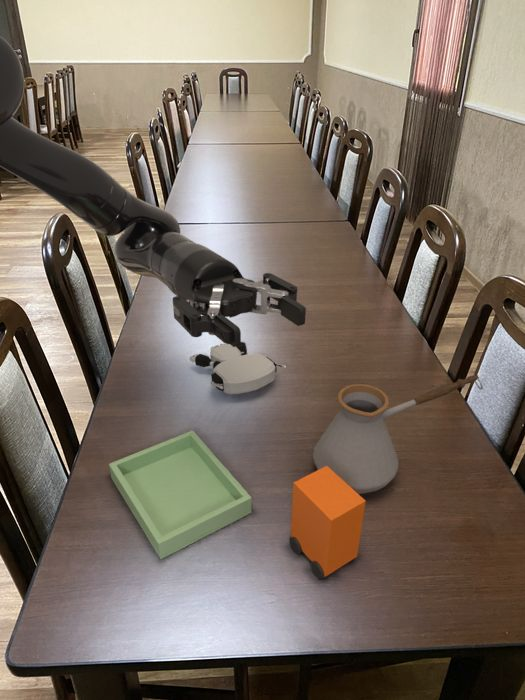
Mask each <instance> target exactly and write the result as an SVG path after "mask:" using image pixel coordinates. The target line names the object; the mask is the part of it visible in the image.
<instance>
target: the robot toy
mask: <svg viewBox="0 0 525 700" xmlns="http://www.w3.org/2000/svg"><path fill="white" fill-rule="evenodd" d="M247 353H248V349H247V344H246V342H245V341H241V344H240V345H239V346H236V347H233V346H231V345H230V344H226V343H220V345H219V344H217V345H212V346H211V347H210V351H209V354H210V356H209V355H206V354H202V353H199V354H193V355H191V356H189V358H188V359H189V361H190V362H192V363H195V366H197V367H200V368H207V367H212V368H213V370H212V373H211V375H210V376H211V377H210V378H211V381H210V384H211V386H212V387H214V388H216V389H217V390H219V391H220V392H223V393H225V394H226V395H240V394H246V393H247V394H248V393H251V392H254V391H255V392H256V391H258V390H259V389H260V390H261V389H262V388H263V387H266V386H267V385H269V384H270V383H272V382H273V381H274V380H275V379H276V373H277V372H278V371H277V367H280V368H283V369H287V366H286V365H283V364H280V363H277V362H276V361H273V360H272V359H270V358H269V356H265V355H264V354H261V353H249V354H247Z"/></svg>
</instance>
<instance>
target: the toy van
mask: <svg viewBox="0 0 525 700" xmlns="http://www.w3.org/2000/svg"><path fill="white" fill-rule="evenodd" d="M291 503H292V504H291V520H290V521H291V523H290V538H289V544H290V546H291V549H292V550H293V552H294V553H295V554H297V555H299V554H301V553H304V555H305V556H306V557H307V558H308V559H309V561H311V563H310V568H311V571H312V573H313V574H314V576H315V577H316V578H317V579H318V580H322V579H323V578H325V577H328V576H329V575H330V574H332V573H334V572H335V571H337V570H338V569H340V568H341V567H343V566H344V565H346V564H348V563H349V562H351V561H353V560H354V559H356V558H357V557H358V555H359V547H360V542H361V536H362V535H361V534H362V529H363V522H364V516H365V509H366V499H364V497H363V496H361V495H360V494H358V493H357V492H355V491H354V490H353V489H352V488H351V487H350V486H349V485H348V484H347V483H345V482H344V481H343V480H342V479H341V478H340V477H339V476H338V475H337V474H335V473H334V472H333V471H332V470H331V469H330V468H329V467H328V466H325V467H323V468H321V469H319V470H315V471H314V472H311V473H310V474H307V475H305V476H303V477H302V478H299V479H297V480H296V481H294V482H293V485H292V502H291Z"/></svg>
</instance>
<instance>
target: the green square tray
mask: <svg viewBox="0 0 525 700" xmlns="http://www.w3.org/2000/svg"><path fill="white" fill-rule="evenodd" d="M108 466H109V472H110V478H111V480H112V482H113V483H114V485H115V487H116V488H117V490H118V491H119V494H120V495H121V496H122V499H123V500H124V502H125V504H126V505H127V507H128V508H129V510H130V511H131V513H132V515H133V516H134V518H135V520H136V521H137V523H138V525H139V526H140V528H141V530H142V531H143V533H144V535H145V536H146V538H147V540H148V541H149V543H150V544H151V546H152V548H153V549H154V551H155V553H156V554H157V557H158V558H159V559H160V560H163V559H164V558H167V557H168V556H170V555H172V554H174V553H176V552H178V551H180V550H182V549H184V548H186V547H188V546H190V545H192V544H193V543H195V542H197V541H199V540H201V539H203V538H205V537H207V536H209V535H211V534H213V533H215V532H217V531H219V530H221V529H223V528H225V527H227V526H228V525H230V524H232V523H234V522H236V521H238V520H240V519H242V518H244V517H246V516H248V515H250V514H252V512H253V511H252V504H253V503H252V502H253V501H252V500H253V499H252V496H251V495H250V494H249V493H248V492H247V491H246V489H245V487H243V486H242V485H241V484H240V482H238V480H237V479H236V478H235V477H234V476H233V474H232V473H230V471H229V470H228V469H227V468H226V467H225V466H224V464H223V463H222V462H221V461H220V459H219V458H218V457H217V456H216V455H215V454H214V453H213V452H212V450H211V449H210V448H209V447H208V446H207V445H206V443H204V441H203V440H202V439H201V438H200V436H198V434H196V433H195V431H194V430H190V431H187V432H185V433H183V434H180V435H178V436H175V437H172V438H170V439H167V440H165V441H163V442H160V443H157V444H155V445H152V446H150V447H147V448H144V449H142V450H140V451H138V452H135V453H133V454H130V455H128V456H125V457H122V458H119V459H117V460H115V461H112V462H110V463H108Z"/></svg>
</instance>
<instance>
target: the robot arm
mask: <svg viewBox="0 0 525 700" xmlns="http://www.w3.org/2000/svg"><path fill="white" fill-rule="evenodd" d="M24 75H25V74H24V69H23V66H22V64H21V61H20V58H19V56H18V54H17V53H16V51H15V49H14V48H13V47H12V45H11V44H10V43H9V42H8V41H7V40H6V39H5V38H4V37H2V36H1V35H0V168H2V169H4V170H6V171H7V172H9V173H11V174H12V175H14V176H16V177H18V178H19V179H21V180H23V181H25V182H26V183H28V184H29V185H30V186H33V187H34V188H36V189H38V190H39V191H40V192H42V193H44V194H45V195H47V196H49V197H50V198H51V199H52V200H54V201H56V202H57V203H58V204H60V205H61V206H63V207H64V208H65V209H66V210H68V211H69V212H70V213H71V214H74V216H76V217H77V218H78V219H80V221H82V222H84V223H85V224H87V225H88V226H89V227H90V228H92V229H93V230H94V231H96V232H97V233H98V234H101V235H102V236H105V237H113V236H117V235H119V234H120V235H119V237H118V238H117V240H116V242H115V243H114V251H113V252H114V256H115V258H116V260H117V261H118V263H119V264H120V265H121V266H122V267H123V268H124V269H126V270H127V271H129V272H131V273H133V274H136V275H138V276H142V277H146V278H155V279H158V280H159V281H160V282H161V283H163V284H164V285H165V286H166V287H167V288H168V289H169V291H170V292H171V293H172V294H173V295H174V296H173V297H172V309H173V310H172V311H173V318H174V319H175V321H176V322H178V323H179V325H180V326H181V327H182V328H183V329H184V330H185V331H186V332H187V333H188V334H189V335H190V336H191V337H193V338H200V337H201V336H203V333H208V335H209V336H215V337H216V338H217V339H219V340H220V341H221V342H223V344H230V345H231V346H233V347H236V346H239V345H240V344H241V342H242V332H241V329H240V327H239V326H238V325H236V324H235V323H234V322H233V321H231V320H230V319H231V318H234V317H237V316H239V315H241V314H247V313H248V314H249V313H252V314H253V313H254V314H259V315H267V313H269V312H270V313H276V314H280V315H281V316H282V317H283V318H285V319H287V320H288V321H289V322H291V323H293V324H294V325H295V326H297V327H300V326H303V325H305V324H306V316H307V315H306V312H307V308H306V306H305V305H303V304H301V303H300V302H299V301H298V297H297V296H298V286H296V285H295V284H293V283H291V282H289V281H286V280H285V279H283V278H281V277H279V276H277V275H275V274H273V273H270V272H265V273H263V274H262V280H258V281H254V280H252V279H249V278H245V277H244V276H243V275H242V272H241V271H240V270H239V268H238V266H236V264H234V263H233V262H232V261H230V260H228V259H226V258H225V257H223V256H221V255H220V254H219V253H216V252H215V251H213V250H212V249H210V248H208V247H206V246H205V245H203V244H200V243H197V242H195V241H193V240H191V239H190V238H188V237H187V236H185V235H183V234H181V227H180V226H181V225H180V224H179V221H178V220H177V219H176V217H175V216H174V215H173V214H171V213H170V212H168V211H167V210H165V209H163V208H161V207H159V206H156V205H154V204H152V203H149V202H147V201H145V200H143V199H141V198H139V197H137V196H135V195H134V194H133V193H131V192H130V191H128V190H127V189H126V188H125V187H123V186H122V184H120V183H119V182H118V181H117V180H116V179H115V178H113V177H112V175H111V174H109V173H108V171H106V170H105V169H104V168H102V167H101V166H100V165H99V164H97V163H96V162H95V161H93V160H91V159H90V158H88V157H86V156H85V155H83V154H81V153H79V152H77V151H75V150H73V149H71V148H68V147H67V146H65V145H62V144H60V143H58V142H55V141H53V140H51V139H50V138H48V137H45V136H44V135H41V134H40V133H37V132H36V131H34V130H32V129H31V128H29V127H27V126H25V125H24V124H22V123H21V122H20V121H18V120H16V119H15V118H14V117H13V116H15V114H16V113H17V111H18V109H19V108H20V106H21V104H22V101H23V98H24V92H25V76H24ZM258 293H259V294H260V297H261V298H260V304H257V300H258ZM271 299H272V300H274V301H276V302H277V304H276V303H271ZM229 318H230V319H229Z"/></svg>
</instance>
